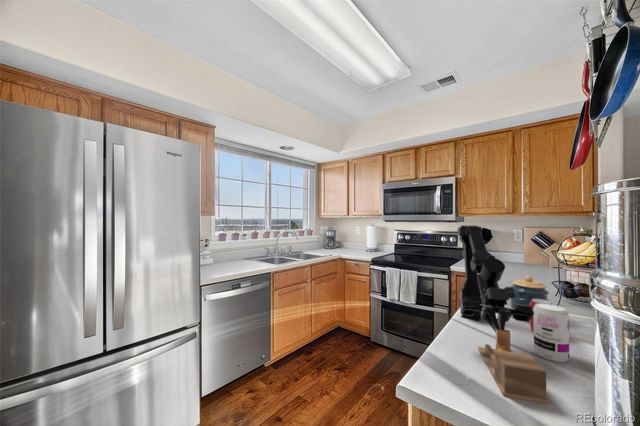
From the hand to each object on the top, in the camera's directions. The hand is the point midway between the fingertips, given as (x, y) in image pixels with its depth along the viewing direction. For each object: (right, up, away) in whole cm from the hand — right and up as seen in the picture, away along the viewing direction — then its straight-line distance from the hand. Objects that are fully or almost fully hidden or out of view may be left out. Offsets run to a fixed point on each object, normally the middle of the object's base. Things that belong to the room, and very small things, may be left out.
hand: (501, 337), depth 75 cm
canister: (+37, -8, +35) cm, 52 cm away
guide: (-1, -7, -4) cm, 9 cm away
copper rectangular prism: (-2, -6, -7) cm, 9 cm away
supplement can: (+18, -8, +4) cm, 20 cm away
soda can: (+29, -8, +19) cm, 36 cm away
